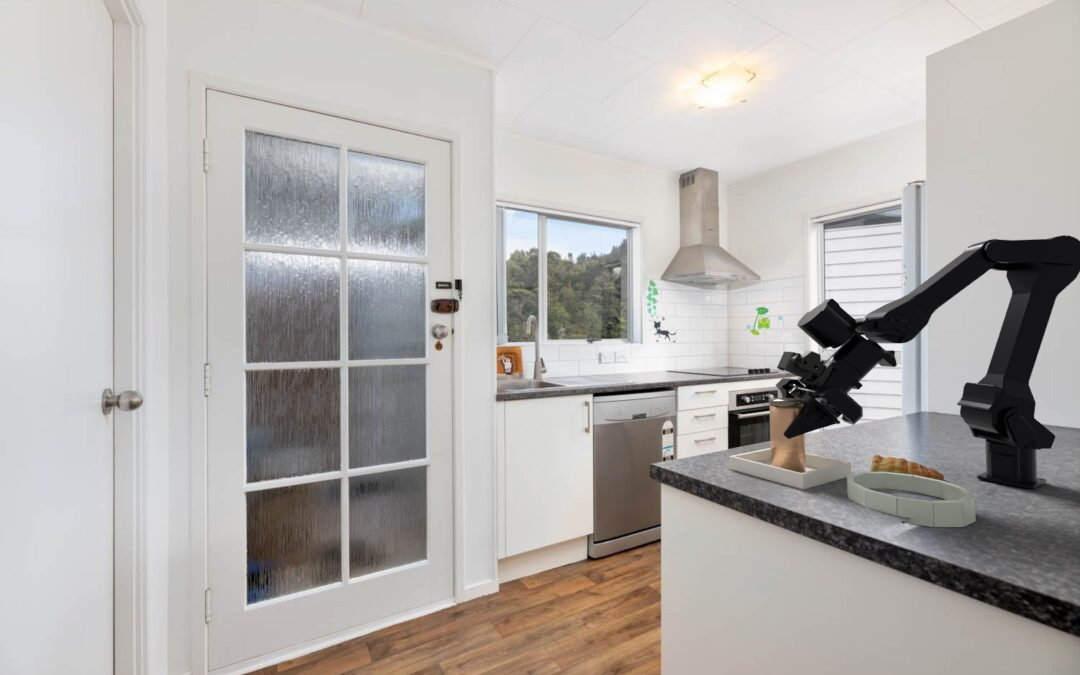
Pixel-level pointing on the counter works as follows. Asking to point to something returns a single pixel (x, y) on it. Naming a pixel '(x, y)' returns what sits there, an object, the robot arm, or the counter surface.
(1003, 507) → the counter surface
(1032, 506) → the counter surface
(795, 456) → the canister
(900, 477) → the bowl
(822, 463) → the tray
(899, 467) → the pastry
